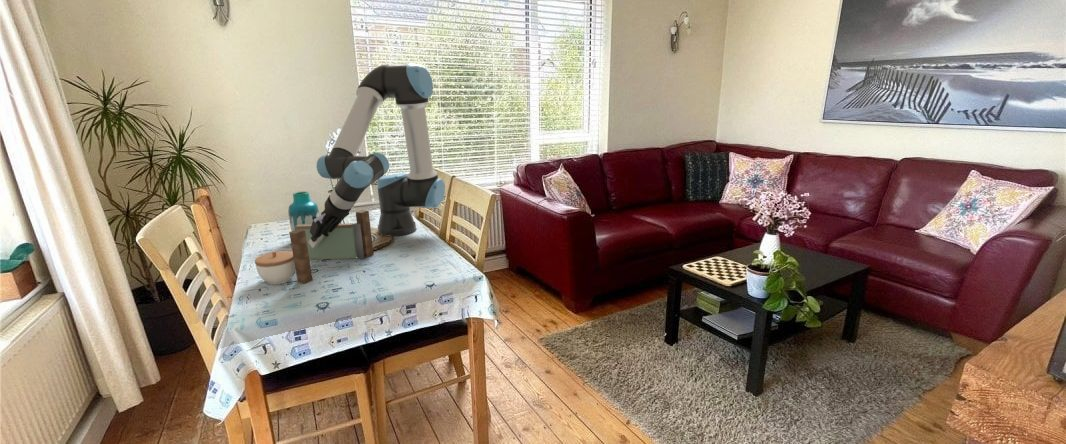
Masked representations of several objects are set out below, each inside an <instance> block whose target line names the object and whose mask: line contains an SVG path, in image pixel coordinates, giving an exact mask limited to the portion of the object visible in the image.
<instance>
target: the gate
mask: <svg viewBox="0 0 1066 444" xmlns="http://www.w3.org/2000/svg"><path fill="white" fill-rule="evenodd" d="M311 225H312V224H307V225H296V226H295V229H296V230H298V229H299V230H305V234H306V240H307V246H308V253H309V259H310V260H336V259H337V260H338V259H339V260H341V259H343V260H344V259H356V258H357V259H364V258H365V257H364V249H363V241H362V233H361V225H360V223H357V222H355V223H353V222H352V223H351V222H348V223H344V222H343V223H340V224H339V225H338V226H337V227H336V228H335V229H334V230H333V231H332V232H328V235H329V236H327V237H326V236H324V237H323V239H322V240H321V241H320V243H319V244H318V246H317V247H316V248H312V247H311V245H310V244H309V243H308V242H309V240H310V239H311V237H312V235H311V233H310V229H311Z"/></svg>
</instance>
